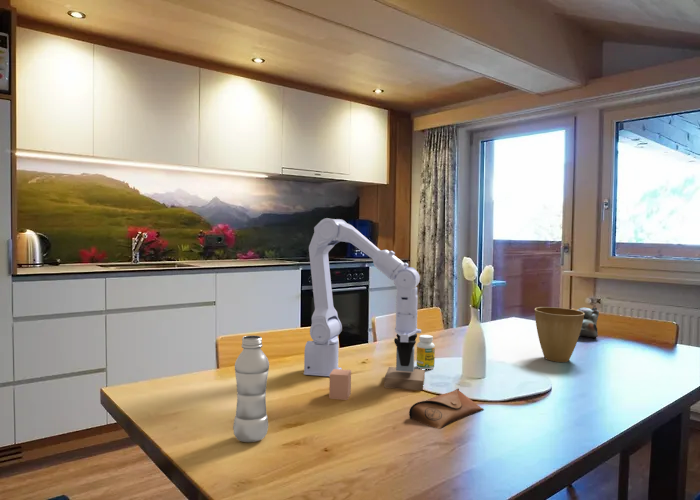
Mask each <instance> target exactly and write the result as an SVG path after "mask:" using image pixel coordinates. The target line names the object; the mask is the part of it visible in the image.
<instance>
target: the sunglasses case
mask: <svg viewBox="0 0 700 500" xmlns="http://www.w3.org/2000/svg"><path fill="white" fill-rule="evenodd" d="M482 411H484V408H482V407H481V406H480V405H478V404H477V403H476V402H474V400H472V399H471V398H470V397H468V396H466V394H464V393H463V392H462V391H460V388H456V389H454V390H453V391H449V392H446V393H442V394H439V395H437V396H435V397H432V398H428V399H425V400H422V401H417V402H415V403H414V404H413V405H411V407H410V408H409V412H408V416H409V419H410V420H412V421H415V422H418V423H421V424H423V425H426V426H429V427H431V428H435V429H438V430H441V429H443V428H445V427H446V426H448V425H450V424H453V423H454V422H456V421H457V422H458V420H459V421H460V419H463V418H466V417H468V416H471V415H473V414H476V413H478V412H479V413H480V412H482Z"/></svg>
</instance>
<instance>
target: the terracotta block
mask: <svg viewBox="0 0 700 500" xmlns="http://www.w3.org/2000/svg"><path fill="white" fill-rule="evenodd" d="M328 390H329V392H328V393H329V396H328V397H329V400H330V399H331V400H332V399H333V400H342V401H343V400H344V401H345V400H346V401H347V400H349V398H350V396H351V394H352V369H333V371H332V372H331V373H330V377H329V389H328Z"/></svg>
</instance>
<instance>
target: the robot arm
mask: <svg viewBox="0 0 700 500" xmlns="http://www.w3.org/2000/svg"><path fill="white" fill-rule="evenodd" d="M313 230H314V231H313V232H314V233H313V235H312V237H311V241H310V242H309V245H308V252H309V253H308V255H309V264H310V273H311V283H312V293H313V303H314V311H313V313H312V315H311V326H310V328H309V335H310V338H311V339H312V340H308V341H306V343H305V347H304V354H303V355H304V359H303V360H304V361H303V362H304V363H303V364H304V366H303V369H304V370H303V371H304V372H303V375H305V376H317V377H319V376H320V377H329V378H330V373H331V372H332V371H333V369H341V370H343V369H342V367H339V338H338V337H339V335H340V334H341V332H342V331H343V325H342V322H341V320H340V318H339V315H338V311H337V310H336V308H335V307H334V298H333V291H332V289H333V288H332V281H331V280H332V279H331V278H332V277H331V270H330V261H329V252H330V251H331V250H332V249H333V248H334V247H335V245H337V244H338V243H340V242H342V243H343V242H345V243H350V244H352V245H353V246H354V247H355V248H357V249H359V250H360V251H361V252H363V253H364V254H365V255H366V256H368V257H369V258H370V259H372V263H373V266H374V267H375V268H376V269H377V270H378V271H380V272H381V273H382V274H383V275H385V277H387V278H388V279H390V280H391V281H393V284H394V286H395V288H396V295H395V296H396V297H395V328H394V333H396V338H394V340H393V343H394V345H395V347H396V350H397V349H398V353H399V359H400V364H401V366H409V363H410V358H411V352H412V349H413V347H414V348H415V345H416V343H417V340H416V339H417V338H418V334H422V329H420V328H418V304H419V303H418V297H419V296H418V287H417V286H418V285H419V283H420V281H421V276H420V274H419V271H417V270H416V268H415V267H412V266H409V263H407V262H403V261H402V260H401V259H400V258H398V257H397V256H396V252H395V251H393V250H388V249H382V250H381V248H379V247H377V246H376V245H375V244H374V243H373V242H372V241H370V240H369V239H368V237H366V236H365V235H363V234H362V233H361V232H360V231H359V230H358V229H357V228H355V227H354V226H353V225H352V224H350V223H347V222H346V221H345V220H344V219H342V218H341V219H340V218H336V219H335V218H328V217H326V218H325V217H324V218H323V219H321V220H320V221H319V222H318V223H317V224H316V225H315V226H314V227H313Z"/></svg>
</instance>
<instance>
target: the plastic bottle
mask: <svg viewBox="0 0 700 500" xmlns="http://www.w3.org/2000/svg"><path fill="white" fill-rule="evenodd" d="M262 338H263V337H262V336H260V335H245V336H243V337H241V341H242V342H241V348H242V351H241V352H240V354H239V355H238V357H237V358H236V360H235V363H234V373H235V382H236V393H237V394H236V397H237V398H236V409H235V416H234V419H233V427H232V428H233V429H232V430H233V435H234V436H235V438H236V439H237V441H240V442H243V443H255V442H259V441H261V440H263V439H264V438H265V437H266V436H267V434H268V429H269V417H268V413H267V403H266V401H267V400H266V397H267V396H266V395H267V394H266V393H267V392H266V391H267V383H268V382H267V381H268V377H269V372H270V371H269V369H270V362H269V358H268V357H267V355H266V354H265V353H264V351H263V350H262V348H263V341H262V340H263V339H262Z"/></svg>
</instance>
